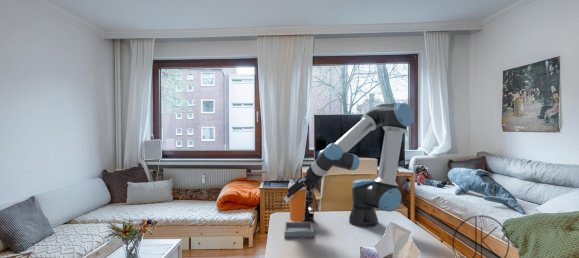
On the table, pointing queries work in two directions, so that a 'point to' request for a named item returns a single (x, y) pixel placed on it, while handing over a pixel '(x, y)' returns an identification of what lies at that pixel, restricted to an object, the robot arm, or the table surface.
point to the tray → (298, 230)
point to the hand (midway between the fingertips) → (292, 198)
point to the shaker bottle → (297, 203)
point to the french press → (309, 209)
